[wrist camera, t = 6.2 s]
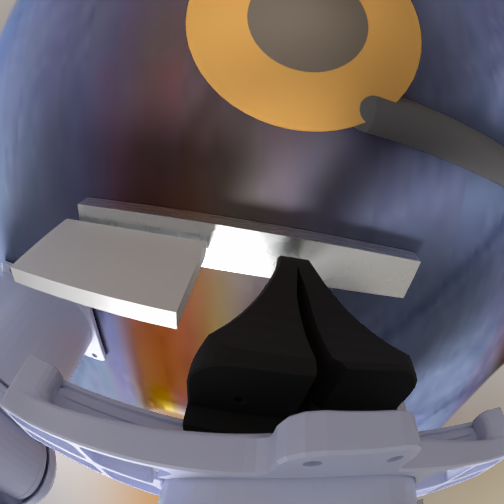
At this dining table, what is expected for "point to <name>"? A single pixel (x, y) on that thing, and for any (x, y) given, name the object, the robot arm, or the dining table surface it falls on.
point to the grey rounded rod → (433, 135)
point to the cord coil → (305, 56)
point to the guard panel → (115, 270)
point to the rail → (266, 246)
